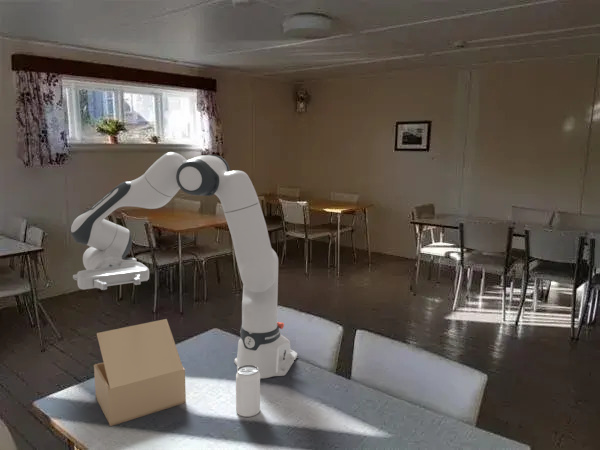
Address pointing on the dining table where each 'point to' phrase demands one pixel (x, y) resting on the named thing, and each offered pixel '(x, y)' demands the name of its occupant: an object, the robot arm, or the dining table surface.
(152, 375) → the carton flap
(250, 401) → the can
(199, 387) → the dining table surface
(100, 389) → the carton
